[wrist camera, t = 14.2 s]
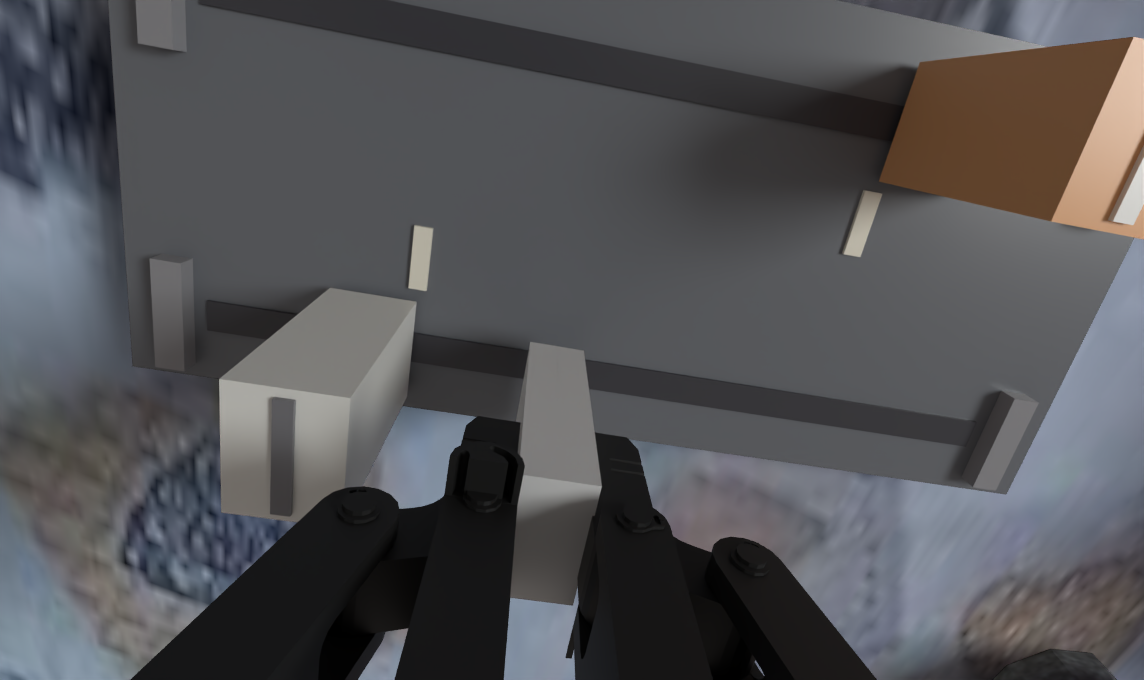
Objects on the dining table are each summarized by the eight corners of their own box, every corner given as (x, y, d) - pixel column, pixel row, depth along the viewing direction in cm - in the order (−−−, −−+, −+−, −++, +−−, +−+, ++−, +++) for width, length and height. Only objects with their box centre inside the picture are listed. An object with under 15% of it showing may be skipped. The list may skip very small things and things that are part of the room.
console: (160, -126, 16) (77, -174, 13) (1132, 85, 19) (1234, 82, 16) (178, 337, 21) (119, 374, 18) (962, 456, 23) (1018, 505, 20)
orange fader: (919, 62, 16) (1139, 36, 10) (1007, 80, 16) (1273, 65, 10) (879, 181, 17) (1056, 222, 11) (960, 197, 17) (1178, 246, 11)
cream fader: (329, 287, 17) (216, 381, 11) (416, 301, 18) (348, 400, 12) (325, 384, 18) (218, 515, 12) (407, 396, 19) (340, 531, 13)
